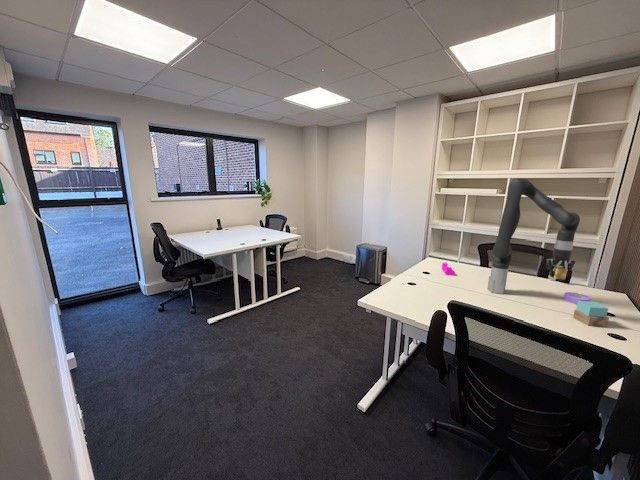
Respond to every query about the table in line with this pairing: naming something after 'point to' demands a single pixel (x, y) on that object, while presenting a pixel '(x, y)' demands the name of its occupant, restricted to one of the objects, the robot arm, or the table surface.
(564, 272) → the ochre block
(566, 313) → the table surface
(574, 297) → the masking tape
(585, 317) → the tower base
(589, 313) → the block
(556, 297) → the table surface
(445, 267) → the magenta irregular piece
